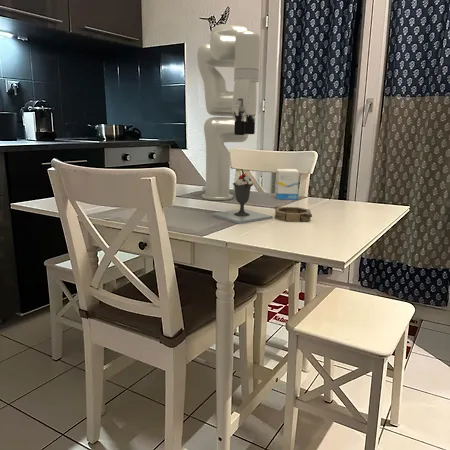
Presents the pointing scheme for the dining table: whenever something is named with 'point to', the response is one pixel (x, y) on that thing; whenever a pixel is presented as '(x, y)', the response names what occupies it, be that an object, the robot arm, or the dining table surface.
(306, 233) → the dining table surface
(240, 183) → the sundae
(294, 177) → the ink box
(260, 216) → the plate
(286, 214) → the collar
